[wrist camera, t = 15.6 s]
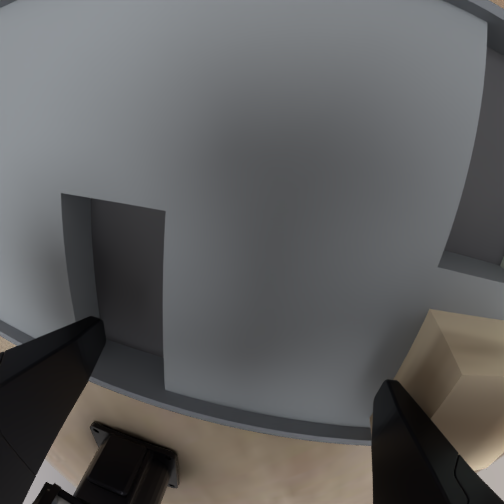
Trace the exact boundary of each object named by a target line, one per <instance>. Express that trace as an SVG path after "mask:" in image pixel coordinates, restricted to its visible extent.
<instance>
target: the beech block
mask: <svg viewBox="0 0 504 504" xmlns="http://www.w3.org/2000/svg"><path fill="white" fill-rule="evenodd" d="M393 380H397V381H399V382H400V383H401V385H402V386H403V387H404V388H405V389H406V391H407V392H408V393H409V394H410V395H411V396H412V398H413V399H414V400H415V401H416V402H417V403H418V405H419V406H420V407H421V408H422V409H423V411H424V412H425V413H426V414H427V415H428V417H429V418H430V419H431V420H432V421H433V423H434V424H435V425H436V426H437V427H438V429H439V430H440V431H441V432H442V433H443V435H444V436H445V437H446V438H447V439H448V441H449V442H450V443H451V444H452V445H453V447H454V448H455V449H456V450H457V452H458V453H459V454H460V455H461V456H462V458H463V459H464V460H465V461H466V462H467V464H468V465H469V466H470V467H471V468H472V469H473V471H474V470H480V469H485V468H487V467H488V466H489V465H490V464H491V463H492V462H494V461H495V460H496V459H497V458H498V457H499V456H500V455H501V454H502V453H503V452H504V320H498V319H491V318H484V317H478V316H471V315H465V314H458V313H452V312H446V311H440V310H433V309H429V311H428V313H427V316H426V318H425V320H424V322H423V324H422V326H421V328H420V330H419V332H418V334H417V336H416V338H415V340H414V342H413V344H412V346H411V348H410V350H409V352H408V354H407V356H406V358H405V359H404V361H403V363H402V365H401V367H400V368H399V370H398V372H397V374H396V376H395V377H394V379H393ZM369 419H370V427H371V436H372V420H373V413H372V415H371V416H370V418H369ZM459 454H458V455H459Z"/></svg>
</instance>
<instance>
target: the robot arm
mask: <svg viewBox="0 0 504 504" xmlns="http://www.w3.org/2000/svg"><path fill="white" fill-rule="evenodd" d="M105 344H106V334H105V328H104V322H103V320H102V319H101V318H98V317H95V316H89V317H87V318H84V319H82V320H79V321H77V322H74V323H72V324H69V325H67V326H65V327H62V328H60V329H57V330H55V331H52V332H50V333H48V334H45V335H43V336H40V337H38V338H35V339H33V340H30V341H28V342H26V343H23V344H21V345H18V346H16V347H13V348H11V349H9V350H6V351H5V352H1V353H0V504H22V503H23V501H24V499H25V497H26V495H27V493H28V491H29V489H30V487H31V485H32V483H33V481H34V479H35V477H36V476H35V475H36V474H37V473H38V470H39V468H40V467H41V465H42V463H43V461H44V459H45V457H46V455H47V453H48V451H49V449H50V448H51V446H52V444H53V442H54V440H55V438H56V437H57V435H58V433H59V431H60V429H61V428H62V426H63V424H64V422H65V420H66V419H67V417H68V415H69V413H70V412H71V410H72V408H73V406H74V405H75V403H76V401H77V400H78V398H79V396H80V394H81V393H82V391H83V389H84V388H85V386H86V384H87V382H88V381H89V379H90V377H91V374H92V372H93V370H94V368H95V366H96V363H97V361H98V359H99V357H100V355H101V353H102V351H103V349H104V346H105ZM90 429H91V431H92V434H93V436H94V438H95V441H96V443H97V445H98V447H99V449H98V450H97V452H96V454H95V456H94V458H93V459H92V461H91V463H90V465H89V467H88V469H87V470H86V472H85V474H84V476H83V478H82V480H81V481H80V483H79V485H78V487H77V489H76V491H75V493H74V495H73V496H72V495H70V494H69V493H67V492H66V491H64V490H62V489H61V487H60V486H58V485H56V484H55V483H54V484H53V485H52V484H49V483H47V482H46V483H45V484H44V486H43V488H42V490H41V491H40V493H39V495H38V496H37V498H36V499H35V501H34V502H33V503H32V504H161V501H162V499H163V496H164V493H165V491H166V488H167V486H168V487H172V488H178V485H179V478H178V465H177V455H176V454H175V453H174V452H172V451H170V450H167V449H163V448H160V447H157V446H154V445H151V444H149V443H146V442H143V441H140V440H137V439H135V438H132V437H129V436H127V435H124V434H122V433H119V432H117V431H114V430H112V429H109V428H107V427H105V426H102V425H100V424H98V423H95V422H93V423H92V425H91V426H90ZM371 449H372V472H373V504H504V501H503V500H501V498H499V496H498V495H496V493H494V491H493V490H492V489H490V487H489V486H488V485H487V484H485V482H484V481H482V479H481V478H480V477H479V476H478V475H477V474H476V473H475V472H474V471H473V469H472V468H471V467H470V466H469V465H468V464H467V462H466V461H465V460H464V459H463V458H462V456H461V455H460V454H459V453H458V452H457V450H456V449H455V448H454V447H453V445H452V444H451V443H450V442H449V441H448V439H447V438H446V437H445V436H444V435H443V433H442V432H441V431H440V430H439V429H438V427H437V426H436V425H435V424H434V423H433V421H432V420H431V419H430V418H429V417H428V415H427V414H426V413H425V412H424V411H423V409H422V408H421V407H420V406H419V405H418V403H417V402H416V401H415V400H414V399H413V398H412V396H411V395H410V394H409V393H408V392H407V391H406V389H405V388H404V387H403V386H402V385H401V383H400V382H399V381H397V380H391V379H386V380H384V382H383V383H382V385H381V387H380V388H379V390H378V392H377V393H376V395H375V397H374V401H373V420H372V441H371ZM458 454H459V455H458Z"/></svg>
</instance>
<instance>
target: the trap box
mask: <svg viewBox="0 0 504 504" xmlns="http://www.w3.org/2000/svg"><path fill="white" fill-rule="evenodd" d="M429 309H433V310H440V311H446V312H452V313H458V314H465V315H471V316H478V317H484V318H491V319H498V320H504V9H503V8H501V7H499V6H498V5H496V4H494V3H493V2H491V1H489V0H0V336H1V337H3V338H5V339H6V340H8V341H10V342H11V343H13V344H15V345H17V346H18V345H21V344H23V343H26V342H28V341H30V340H33V339H35V338H38V337H40V336H43V335H45V334H48V333H50V332H52V331H55V330H57V329H60V328H62V327H65V326H67V325H69V324H72V323H74V322H77V321H79V320H82V319H84V318H87V317H89V316H95V317H98V318H101V319H102V320H103V322H104V328H105V334H106V344H105V346H104V349H103V351H102V353H101V355H100V357H99V359H98V361H97V363H96V366H95V368H94V370H93V372H92V374H91V377H90V379H89V381H90V382H92V383H95V384H97V385H100V386H102V387H105V388H107V389H110V390H112V391H115V392H117V393H120V394H123V395H125V396H128V397H131V398H133V399H136V400H139V401H142V402H145V403H148V404H151V405H154V406H157V407H160V408H163V409H166V410H170V411H173V412H176V413H180V414H183V415H186V416H190V417H194V418H197V419H201V420H205V421H209V422H213V423H217V424H221V425H225V426H230V427H234V428H239V429H243V430H248V431H253V432H258V433H264V434H269V435H275V436H281V437H288V438H294V439H302V440H309V441H318V442H327V443H337V444H350V445H366V446H371V441H372V436H371V427H370V419H369V418H370V416H371V415H372V413H373V401H374V397H375V395H376V393H377V392H378V390H379V388H380V387H381V385H382V383H383V382H384V380H386V379H391V380H393V379H394V377H395V376H396V374H397V372H398V370H399V368H400V367H401V365H402V363H403V361H404V359H405V358H406V356H407V354H408V352H409V350H410V348H411V346H412V344H413V342H414V340H415V338H416V336H417V334H418V332H419V330H420V328H421V326H422V324H423V322H424V320H425V318H426V316H427V313H428V311H429Z"/></svg>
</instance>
